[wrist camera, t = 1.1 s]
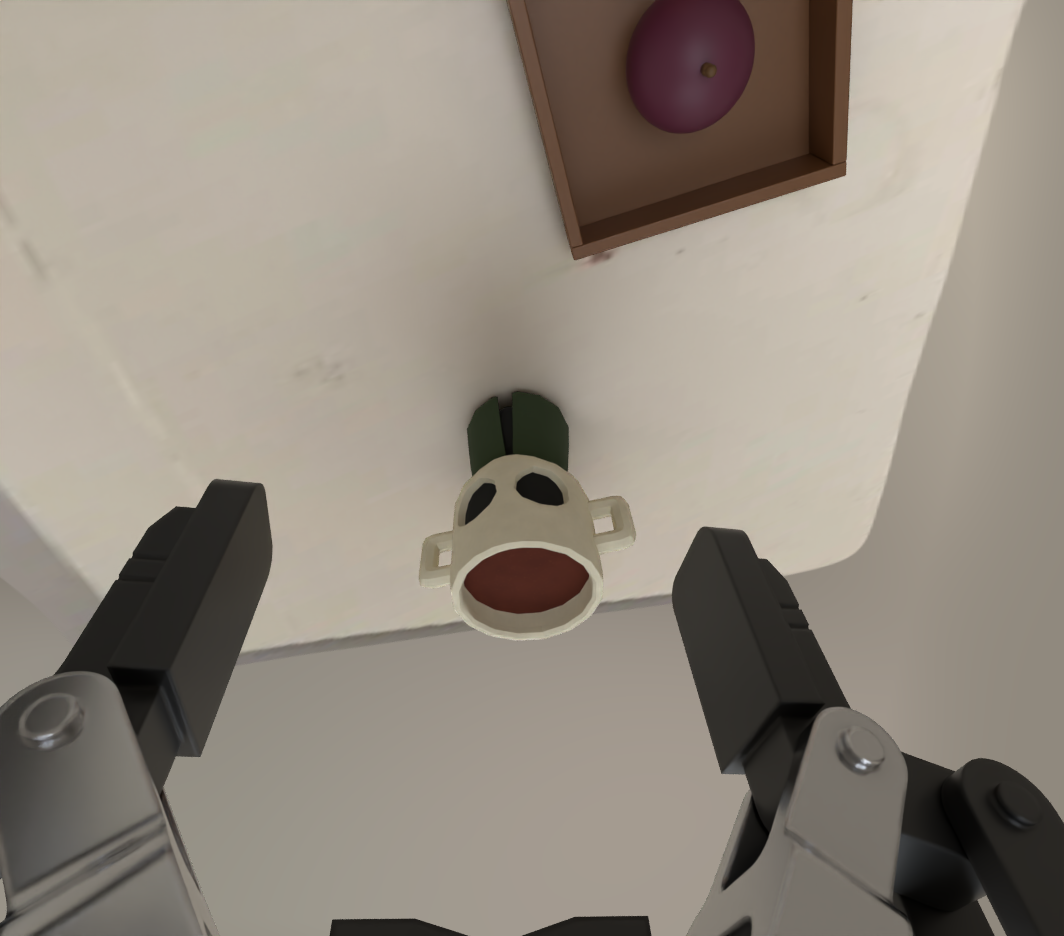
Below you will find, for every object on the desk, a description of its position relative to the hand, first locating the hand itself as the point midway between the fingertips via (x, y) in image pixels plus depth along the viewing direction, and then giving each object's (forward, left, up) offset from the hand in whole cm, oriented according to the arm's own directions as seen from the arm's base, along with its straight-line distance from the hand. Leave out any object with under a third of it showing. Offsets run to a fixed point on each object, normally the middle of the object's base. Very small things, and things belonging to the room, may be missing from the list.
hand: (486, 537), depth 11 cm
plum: (-3, +9, -22) cm, 24 cm away
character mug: (+13, -3, -23) cm, 26 cm away
